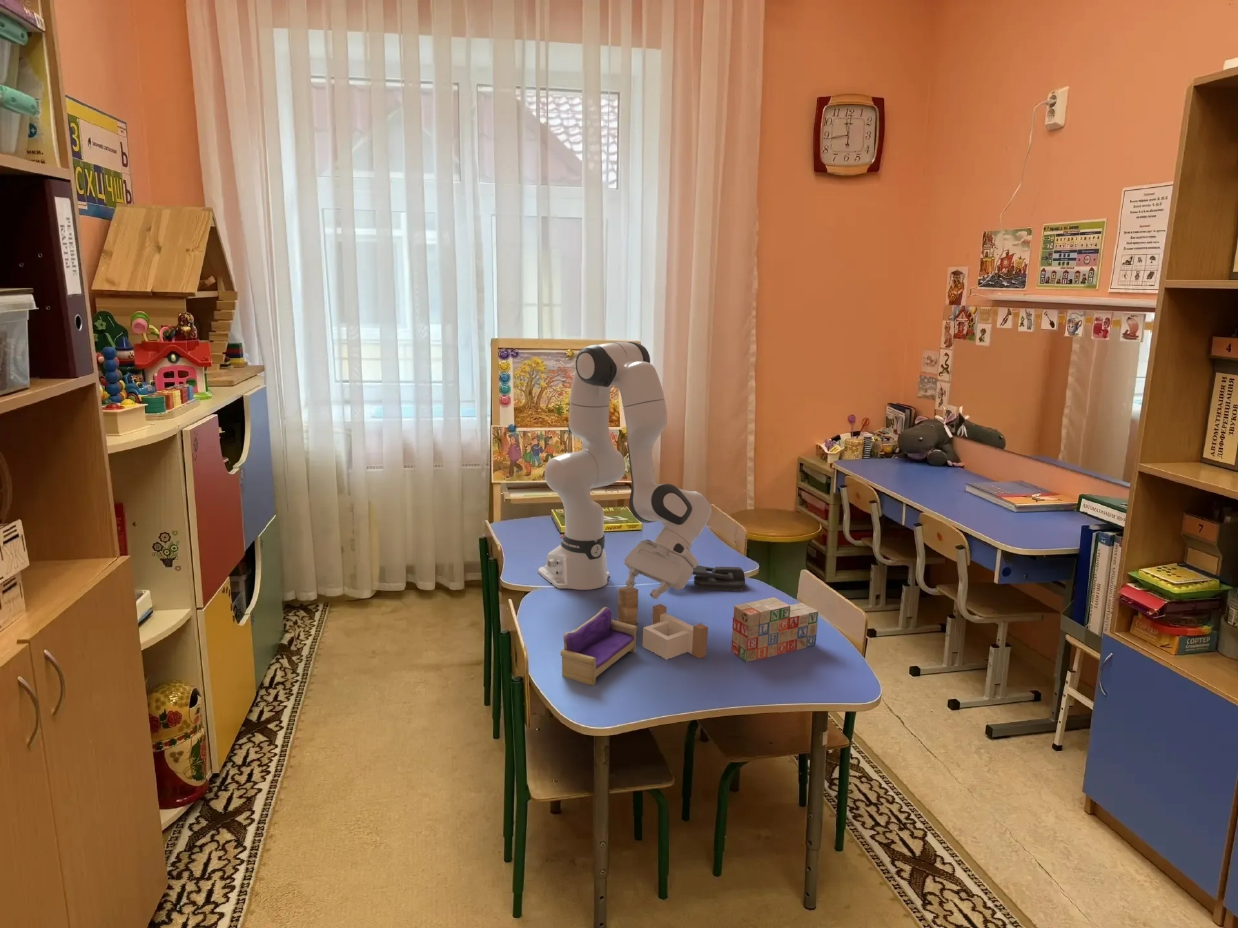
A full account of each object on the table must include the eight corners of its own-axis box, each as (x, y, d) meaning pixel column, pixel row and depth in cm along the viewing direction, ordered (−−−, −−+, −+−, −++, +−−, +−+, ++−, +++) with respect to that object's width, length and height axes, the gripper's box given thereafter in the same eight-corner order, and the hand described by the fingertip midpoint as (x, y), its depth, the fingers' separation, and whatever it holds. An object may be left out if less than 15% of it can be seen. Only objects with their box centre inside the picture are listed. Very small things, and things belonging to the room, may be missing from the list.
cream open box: (631, 640, 205) (632, 612, 203) (658, 631, 211) (660, 603, 209) (678, 666, 193) (680, 636, 191) (706, 655, 198) (707, 626, 197)
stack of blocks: (799, 636, 211) (803, 590, 208) (816, 646, 206) (820, 599, 203) (730, 651, 201) (733, 604, 198) (745, 662, 196) (749, 614, 193)
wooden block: (616, 628, 212) (617, 588, 209) (627, 625, 214) (629, 585, 211) (626, 634, 209) (627, 593, 206) (637, 630, 211) (639, 589, 209)
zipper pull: (658, 557, 246) (742, 558, 247) (657, 578, 247) (741, 579, 249) (662, 568, 237) (748, 569, 239) (661, 590, 238) (747, 591, 240)
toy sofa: (592, 688, 182) (593, 644, 179) (559, 677, 186) (560, 635, 183) (637, 651, 200) (639, 612, 197) (606, 643, 204) (607, 604, 201)
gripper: (637, 531, 221) (608, 573, 217) (691, 551, 206) (661, 597, 202) (649, 544, 225) (620, 585, 221) (703, 565, 210) (673, 610, 206)
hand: (640, 591), depth 211 cm, fingers open, 8 cm apart
